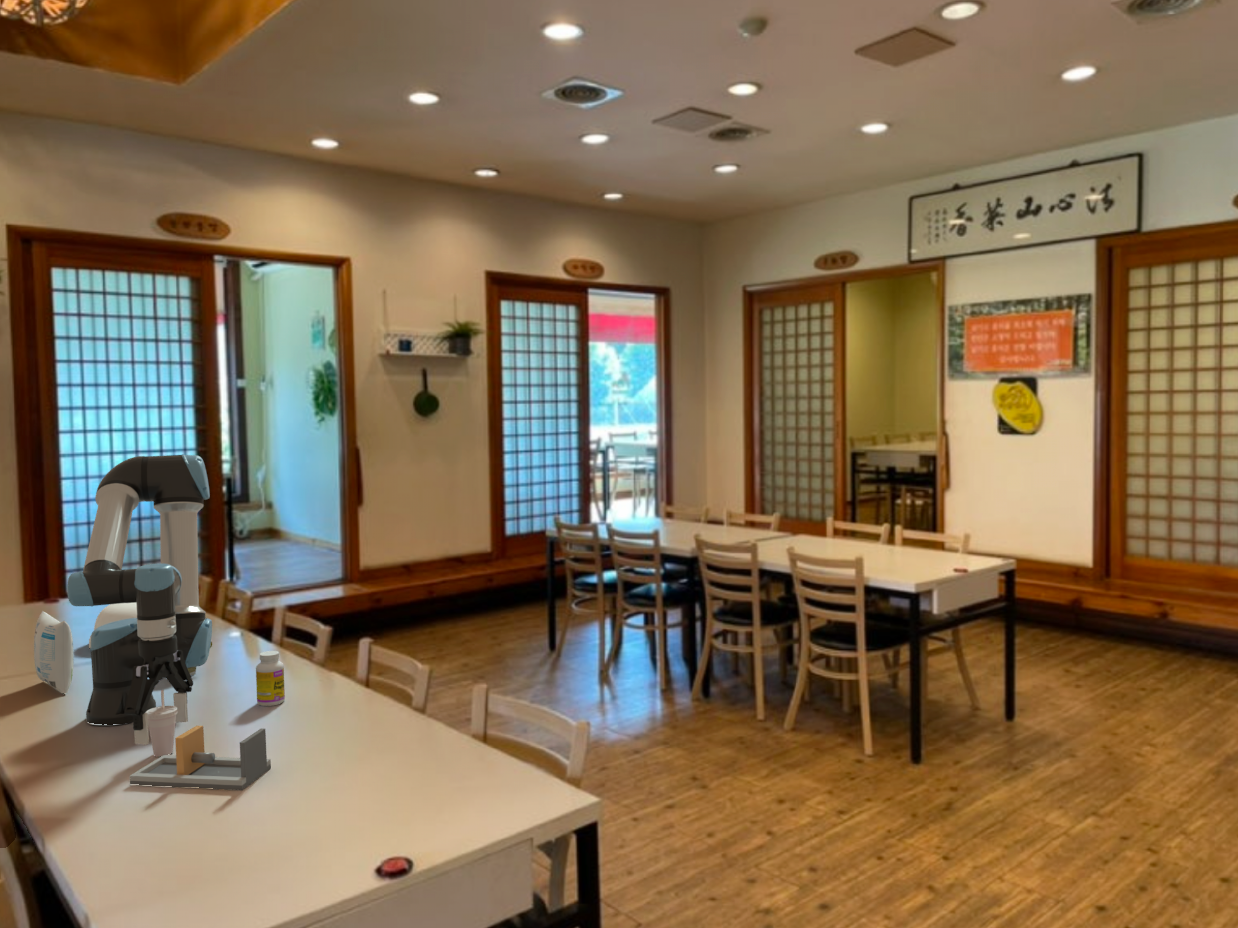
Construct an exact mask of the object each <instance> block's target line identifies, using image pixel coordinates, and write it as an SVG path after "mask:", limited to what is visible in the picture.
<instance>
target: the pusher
mask: <svg viewBox="0 0 1238 928" xmlns="http://www.w3.org/2000/svg"><path fill="white" fill-rule="evenodd" d="M174 741H175V742H174V743H175V755H176V762H177V775H189V774H190V773H192V772H193V771H195V770H196V769H198V768H199V767H201V766H202V765H204V764H205V763H213V762H214V760H215V757H216V754H215V753H214V752H205V734H204V725H195V726H193V727H192V728H190V729H187V730H186V731H185V732H183V733H181V734H179V735H178V736H176V737H174Z"/></svg>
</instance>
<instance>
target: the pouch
mask: <svg viewBox="0 0 1238 928" xmlns="http://www.w3.org/2000/svg"><path fill="white" fill-rule="evenodd" d="M33 637H34V638H33V647H34V648H33V653H34V654H33V659H34V667H35V672H36V675H37V677H38V678H39V680H41V682H44V681H45V682H46V683H47V684H48V685H49V686H51V687H53V688H54V689H55V690H56V691H58V692H59V693H61V694H62V693H68V692H69V690H70V688H71V683H72V680H73V673H74V663H75V662H74V661H75V659H74V657H75V656H74V653H75V652H74V641H73V640H74V639H73V638H74V637H73V634H72V630H71V627H70V625H69V623H67V622H66V621H65V620H62V621H59V620H58V619H56V618H55V617H53V616H52V615H50V614H49V613H47V612H45V611H44V610H42V611H41V613H40V614H39V616H38V618H37V621H36V625H35V631H34V636H33Z"/></svg>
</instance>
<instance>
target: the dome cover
mask: <svg viewBox="0 0 1238 928" xmlns="http://www.w3.org/2000/svg"><path fill="white" fill-rule="evenodd" d="M130 618H137V604H136V602H135V603H120V604H109V605H106V606H105V607H104V608H103V609H102V610H101V611H100V612H99V614H98V615H97V617H96V619H95V622H94V627H93V631H94V630H95V629H96V628H98V627H100V626H102V625H105V624H108V623H111V622H115V621H119V620H124V619H130ZM90 647H91V635H90V636H89V639H88V649H89V648H90Z"/></svg>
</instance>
